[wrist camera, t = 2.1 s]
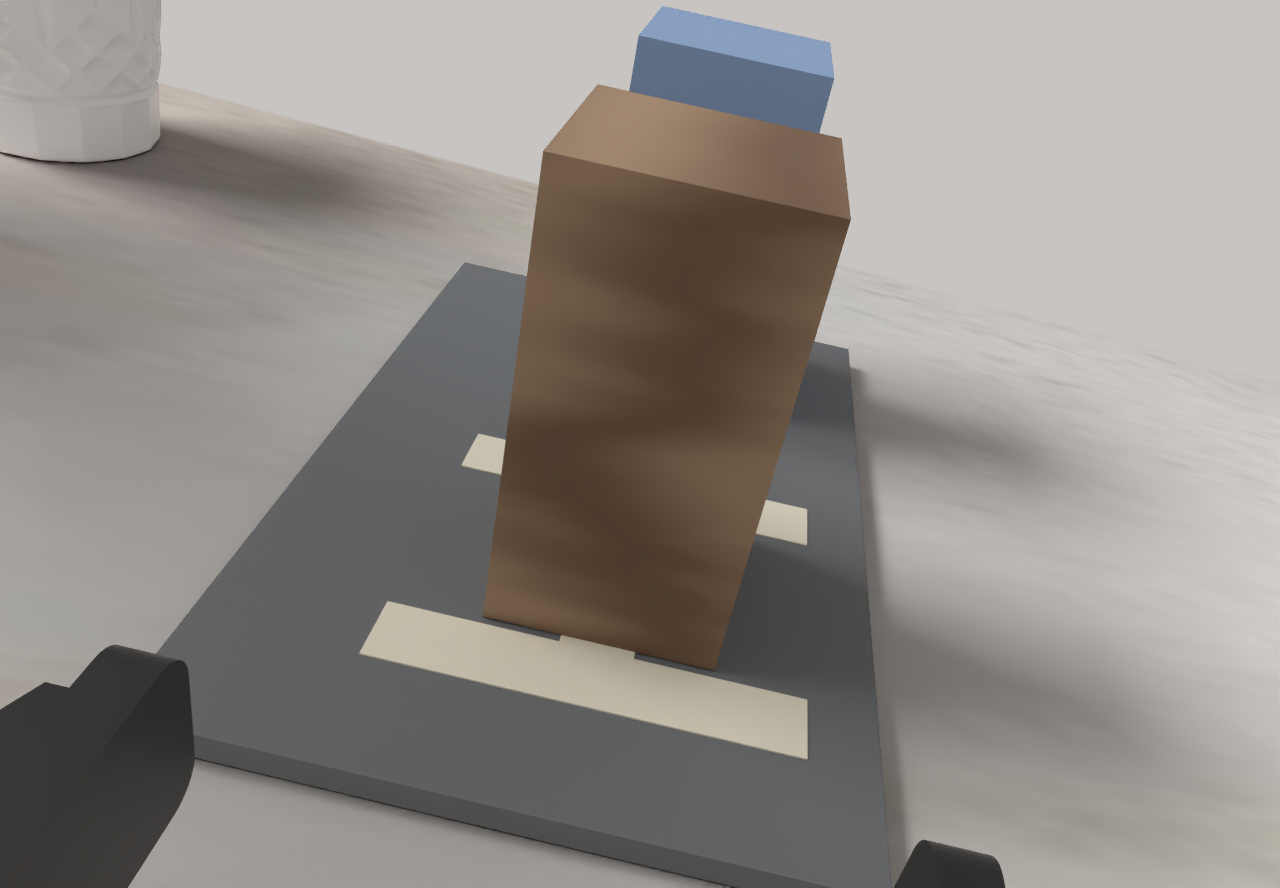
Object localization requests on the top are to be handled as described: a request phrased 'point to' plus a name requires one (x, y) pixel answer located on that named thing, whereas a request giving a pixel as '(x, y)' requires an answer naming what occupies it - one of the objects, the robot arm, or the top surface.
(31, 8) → the white cup
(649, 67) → the blue block
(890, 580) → the top surface
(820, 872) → the letter mat
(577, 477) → the walnut block
